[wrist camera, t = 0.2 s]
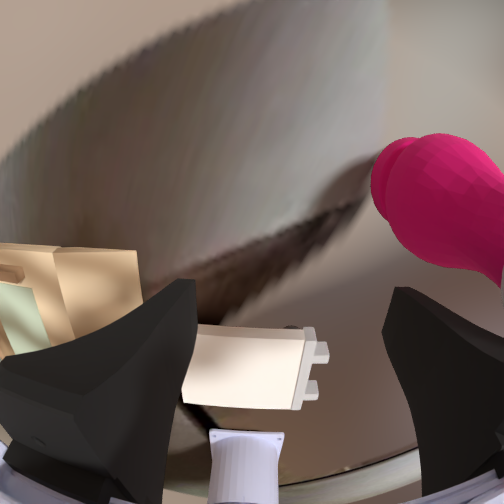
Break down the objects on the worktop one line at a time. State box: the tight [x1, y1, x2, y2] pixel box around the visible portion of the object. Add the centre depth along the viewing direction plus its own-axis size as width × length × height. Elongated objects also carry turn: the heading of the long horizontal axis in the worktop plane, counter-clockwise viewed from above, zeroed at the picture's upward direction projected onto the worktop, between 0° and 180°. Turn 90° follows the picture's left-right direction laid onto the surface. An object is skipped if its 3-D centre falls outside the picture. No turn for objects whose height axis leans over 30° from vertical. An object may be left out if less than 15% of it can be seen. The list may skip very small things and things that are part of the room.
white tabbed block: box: [181, 324, 330, 410], centre depth 23 cm, size 8×11×2 cm
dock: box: [0, 243, 143, 360], centre depth 23 cm, size 18×18×4 cm
